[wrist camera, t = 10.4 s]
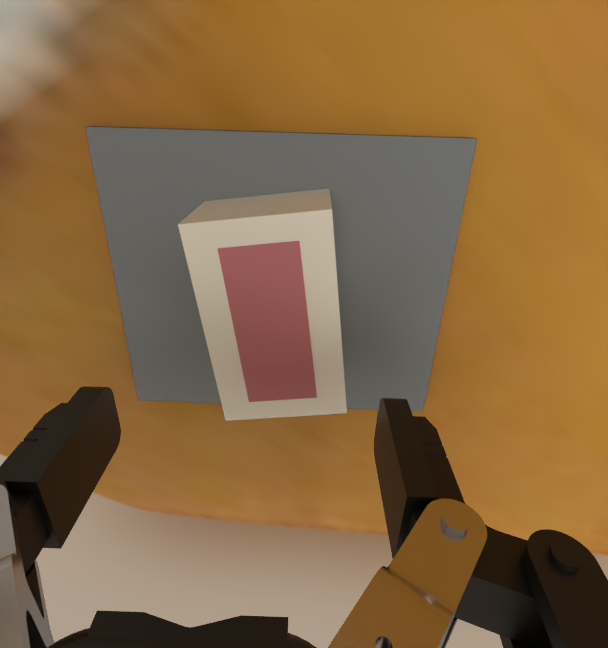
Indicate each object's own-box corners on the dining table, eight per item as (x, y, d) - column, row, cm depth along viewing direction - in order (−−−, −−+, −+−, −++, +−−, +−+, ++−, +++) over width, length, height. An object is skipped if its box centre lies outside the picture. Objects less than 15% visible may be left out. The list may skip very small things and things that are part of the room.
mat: (141, 394, 24) (138, 400, 24) (90, 126, 18) (85, 126, 17) (420, 405, 24) (422, 411, 24) (472, 137, 18) (476, 138, 17)
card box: (204, 201, 19) (177, 224, 15) (329, 188, 18) (332, 209, 15) (240, 371, 23) (225, 421, 19) (342, 363, 22) (347, 413, 19)
